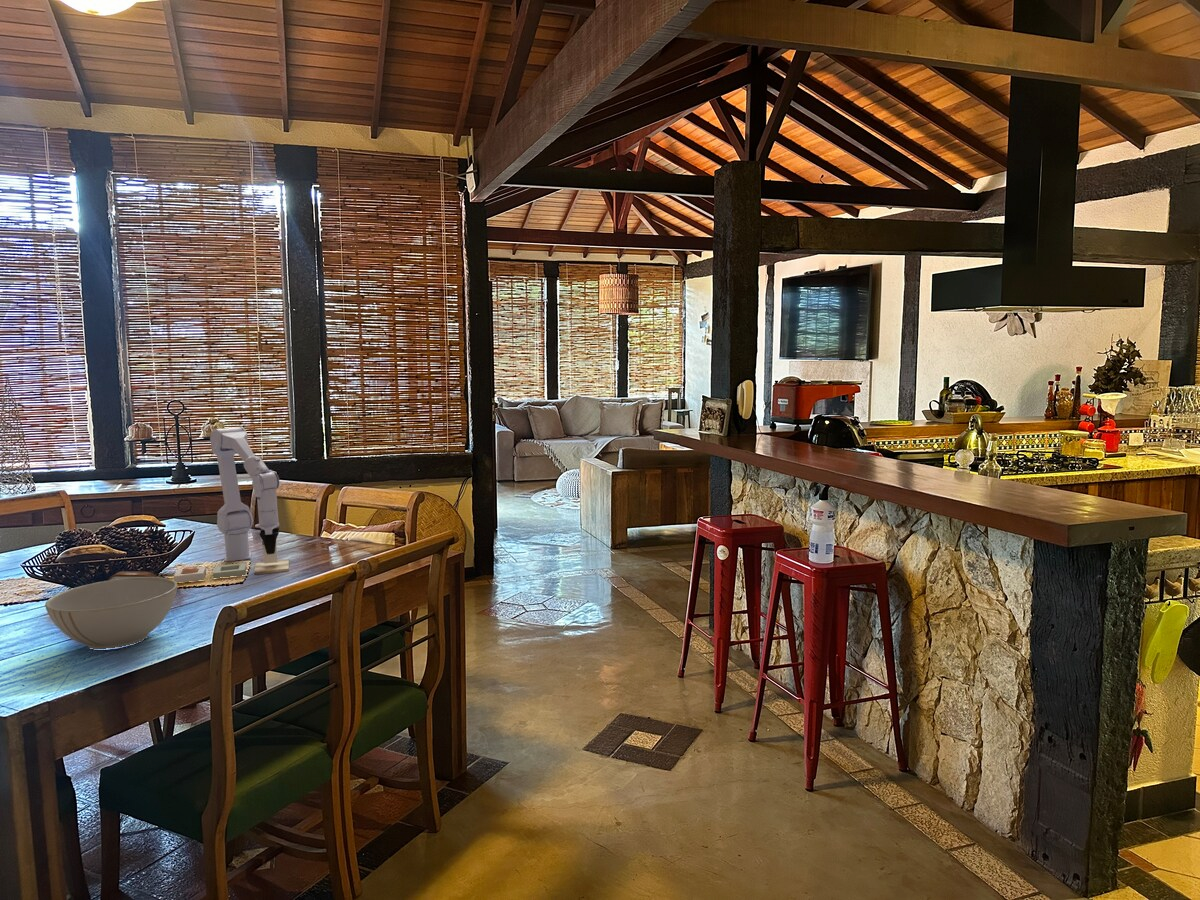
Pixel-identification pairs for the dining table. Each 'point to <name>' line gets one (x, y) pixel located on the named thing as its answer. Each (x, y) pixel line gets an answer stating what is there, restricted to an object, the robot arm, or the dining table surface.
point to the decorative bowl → (112, 610)
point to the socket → (230, 570)
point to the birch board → (271, 567)
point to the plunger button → (189, 570)
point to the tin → (131, 575)
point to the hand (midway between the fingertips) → (270, 552)
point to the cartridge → (269, 555)
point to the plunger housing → (190, 575)
